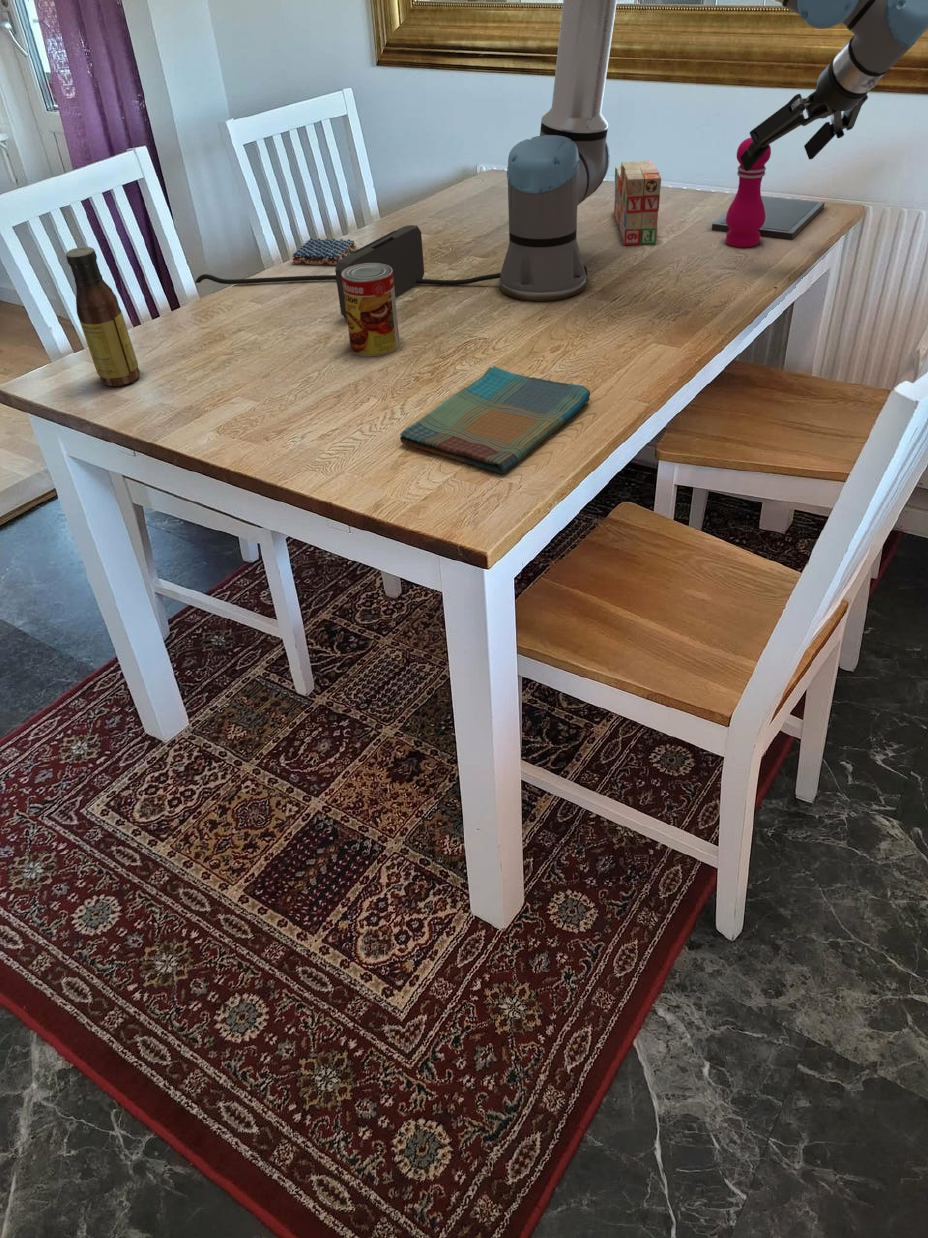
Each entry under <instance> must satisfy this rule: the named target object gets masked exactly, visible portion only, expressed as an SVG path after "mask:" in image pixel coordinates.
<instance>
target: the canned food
mask: <svg viewBox="0 0 928 1238" xmlns="http://www.w3.org/2000/svg"><path fill="white" fill-rule="evenodd" d="M341 275H342V283H343V291H344V299H345V307H346V315H347V319H346V320H347V321H346V322H347V330H348V338H349V345H350V351H351V352H353V353H354V354H355V355H358V356H363V357H380V356H381V357H382V356H386V355H389V354H391V353H394V352H395V351H397V350H398V349H399V348H400V345H401V343H400V333H399V321H398V312H397V302H396V297H395V289H394V279H393V270H392V268H391V267H390V266H388V265H386V264H381V263H364V264H358V265H354V266H350V267H348V268H346V269H345V270H343V271H342V273H341Z"/></svg>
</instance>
